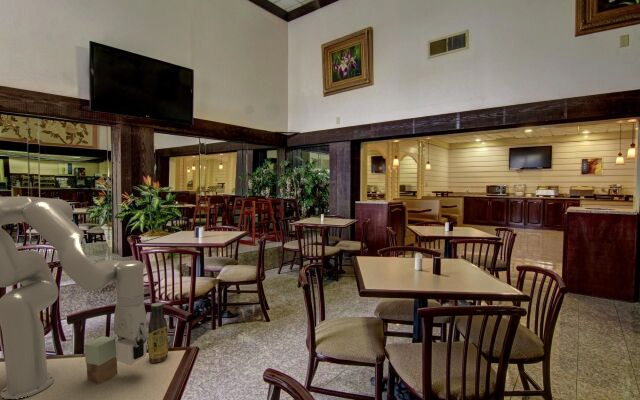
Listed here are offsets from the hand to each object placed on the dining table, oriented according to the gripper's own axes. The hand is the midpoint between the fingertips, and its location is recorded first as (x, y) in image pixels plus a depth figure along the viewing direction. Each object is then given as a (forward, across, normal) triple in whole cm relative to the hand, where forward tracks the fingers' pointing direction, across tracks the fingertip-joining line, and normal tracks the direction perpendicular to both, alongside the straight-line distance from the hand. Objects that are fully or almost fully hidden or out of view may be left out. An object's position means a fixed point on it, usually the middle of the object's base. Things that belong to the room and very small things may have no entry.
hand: (131, 354), depth 108 cm
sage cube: (+2, -10, -4) cm, 11 cm away
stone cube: (+1, 0, 0) cm, 1 cm away
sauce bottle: (+8, -2, +12) cm, 14 cm away
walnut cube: (+8, -10, -3) cm, 13 cm away
